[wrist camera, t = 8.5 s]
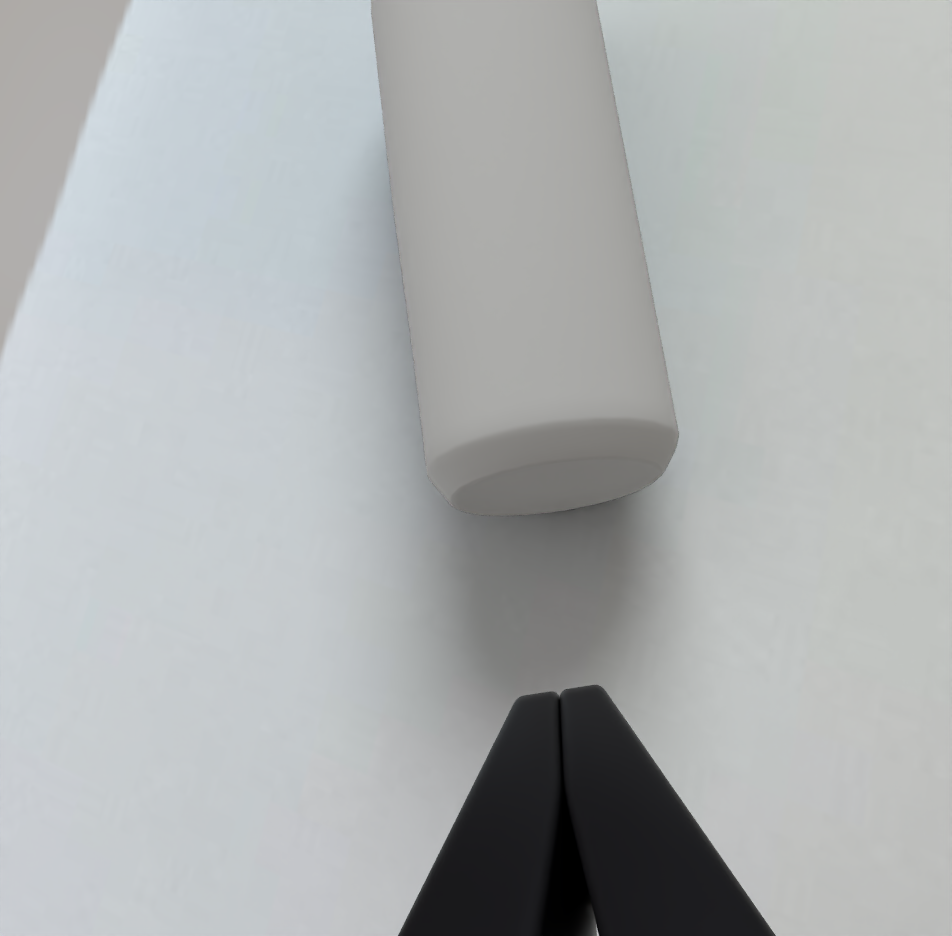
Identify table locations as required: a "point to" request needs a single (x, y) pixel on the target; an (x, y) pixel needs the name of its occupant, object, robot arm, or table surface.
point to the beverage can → (520, 256)
